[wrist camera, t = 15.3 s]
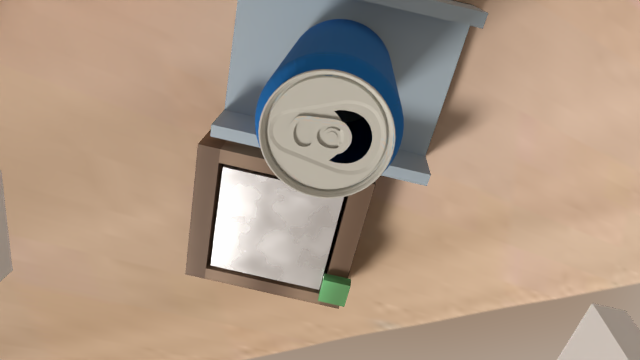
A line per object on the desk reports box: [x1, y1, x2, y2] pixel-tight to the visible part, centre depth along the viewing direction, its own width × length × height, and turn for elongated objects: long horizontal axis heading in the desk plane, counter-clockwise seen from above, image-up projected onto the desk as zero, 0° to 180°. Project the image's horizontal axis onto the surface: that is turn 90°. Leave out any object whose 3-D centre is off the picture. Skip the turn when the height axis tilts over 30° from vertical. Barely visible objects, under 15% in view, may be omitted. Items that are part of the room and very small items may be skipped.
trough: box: [210, 0, 488, 186], centre depth 29 cm, size 14×11×4 cm
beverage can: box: [255, 19, 404, 198], centre depth 24 cm, size 6×6×12 cm
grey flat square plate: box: [211, 164, 344, 290], centre depth 34 cm, size 8×8×1 cm
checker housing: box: [186, 130, 375, 309], centre depth 34 cm, size 12×11×4 cm
